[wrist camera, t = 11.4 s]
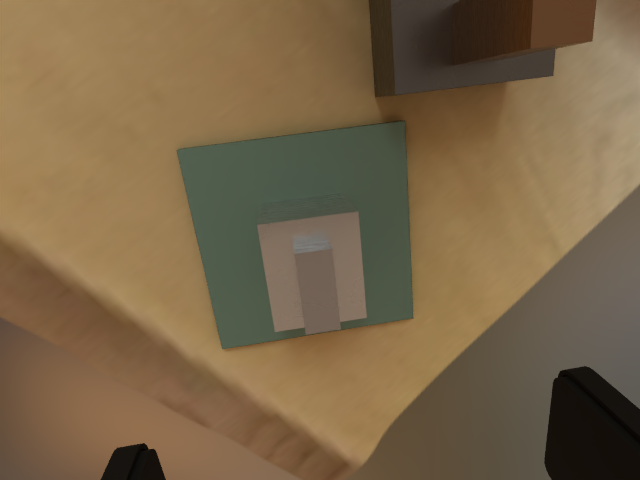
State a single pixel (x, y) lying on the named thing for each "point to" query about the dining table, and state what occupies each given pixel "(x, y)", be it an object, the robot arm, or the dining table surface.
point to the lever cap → (312, 262)
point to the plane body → (471, 41)
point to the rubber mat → (293, 183)
